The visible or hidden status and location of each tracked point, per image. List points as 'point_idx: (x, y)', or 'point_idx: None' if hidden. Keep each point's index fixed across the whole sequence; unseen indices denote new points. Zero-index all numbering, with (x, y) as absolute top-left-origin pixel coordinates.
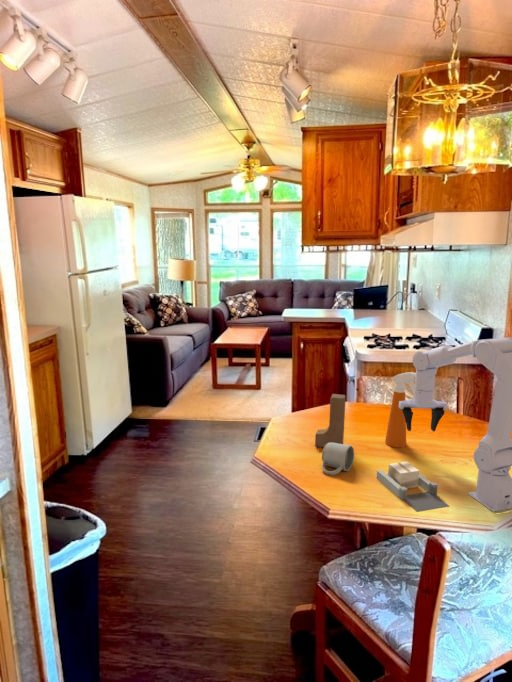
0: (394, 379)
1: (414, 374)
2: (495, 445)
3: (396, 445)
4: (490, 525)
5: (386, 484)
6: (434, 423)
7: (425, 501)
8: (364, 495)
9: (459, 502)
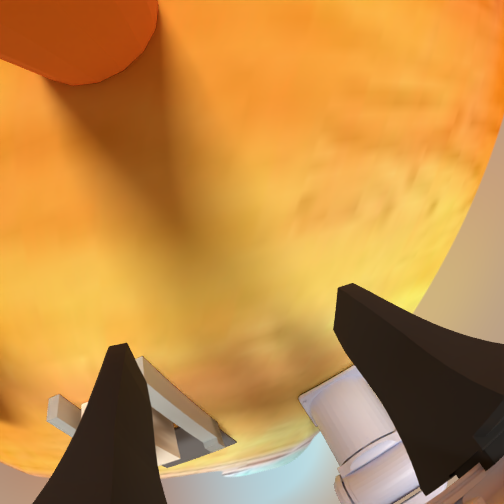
0: None
1: None
2: None
3: (81, 84)
4: (289, 448)
5: None
6: (372, 385)
7: (186, 447)
8: (54, 449)
9: (263, 424)
